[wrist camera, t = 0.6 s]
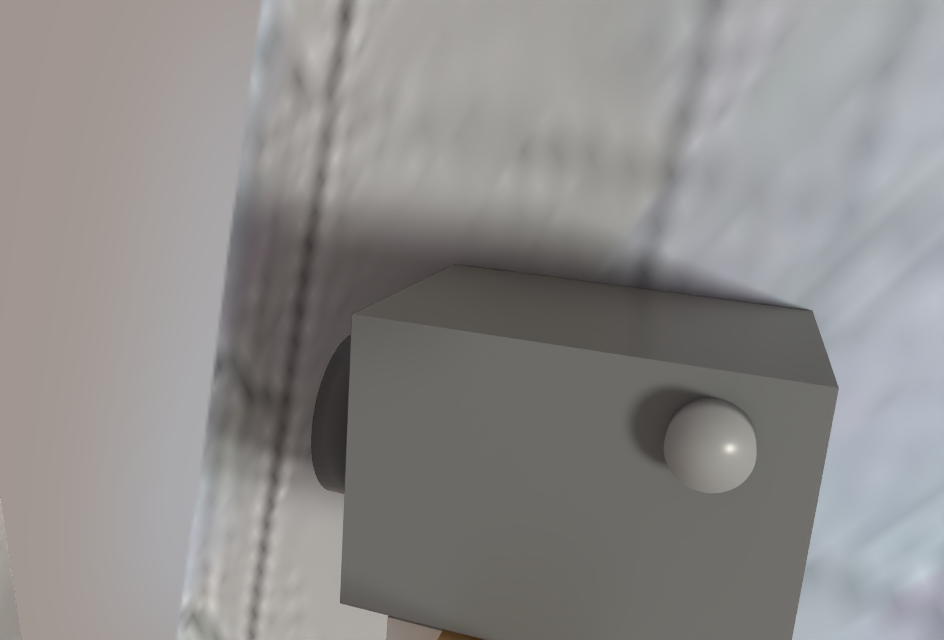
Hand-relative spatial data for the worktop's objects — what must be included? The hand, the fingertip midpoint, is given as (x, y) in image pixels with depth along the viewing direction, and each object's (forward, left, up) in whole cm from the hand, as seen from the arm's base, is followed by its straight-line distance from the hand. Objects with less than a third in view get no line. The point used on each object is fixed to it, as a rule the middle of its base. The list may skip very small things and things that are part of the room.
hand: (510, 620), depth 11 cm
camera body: (+5, +3, -24) cm, 25 cm away
